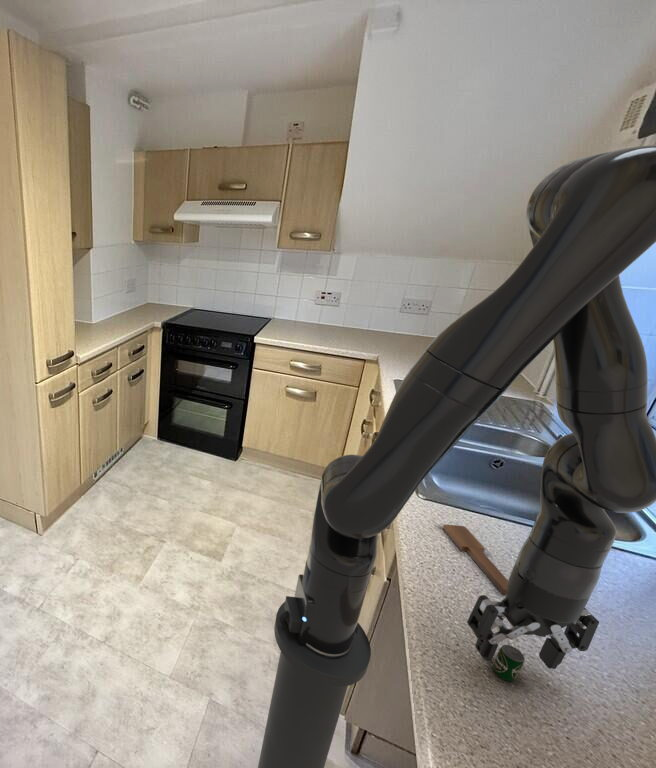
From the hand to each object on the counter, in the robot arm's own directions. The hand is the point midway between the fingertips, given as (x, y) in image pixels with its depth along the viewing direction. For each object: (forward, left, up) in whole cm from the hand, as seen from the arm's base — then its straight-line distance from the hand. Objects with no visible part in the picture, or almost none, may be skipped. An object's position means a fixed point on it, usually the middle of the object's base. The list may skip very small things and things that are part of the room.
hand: (514, 659), depth 61 cm
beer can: (0, 0, -4) cm, 4 cm away
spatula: (+11, +25, -3) cm, 28 cm away
